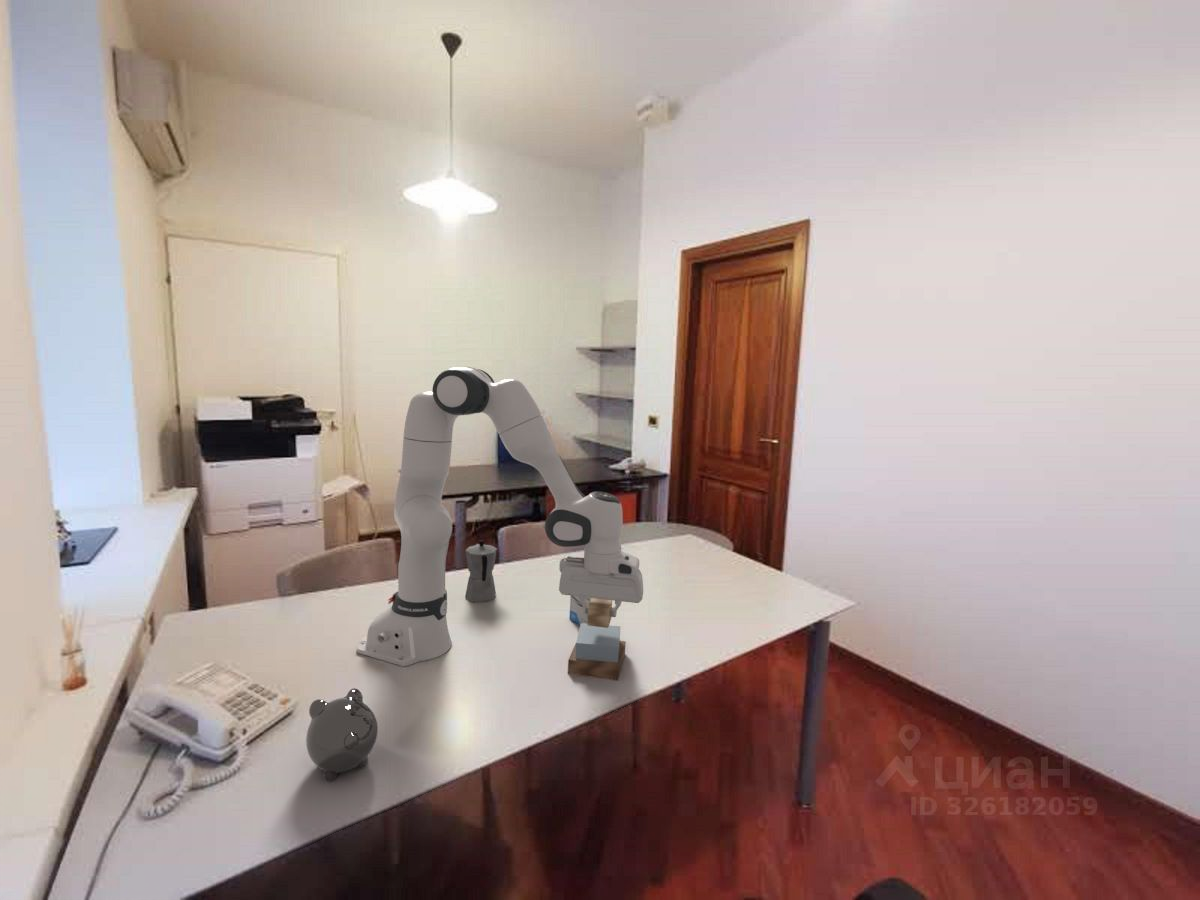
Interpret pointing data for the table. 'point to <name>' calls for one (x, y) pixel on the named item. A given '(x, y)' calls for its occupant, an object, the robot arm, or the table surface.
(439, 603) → the robot arm
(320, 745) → the piggy bank
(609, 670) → the tower base
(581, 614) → the ink box
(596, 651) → the tower top
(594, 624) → the oak block
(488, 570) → the coffeepot
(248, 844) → the table surface
